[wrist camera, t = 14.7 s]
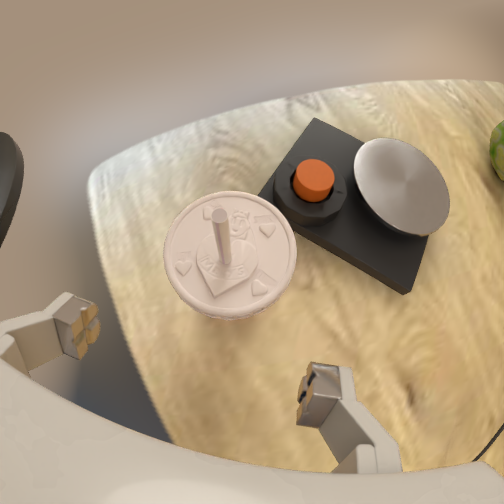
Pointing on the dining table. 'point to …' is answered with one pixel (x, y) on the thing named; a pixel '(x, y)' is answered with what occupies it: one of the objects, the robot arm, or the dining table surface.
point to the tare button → (313, 180)
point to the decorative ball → (497, 149)
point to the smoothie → (230, 255)
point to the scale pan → (400, 187)
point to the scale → (343, 211)
